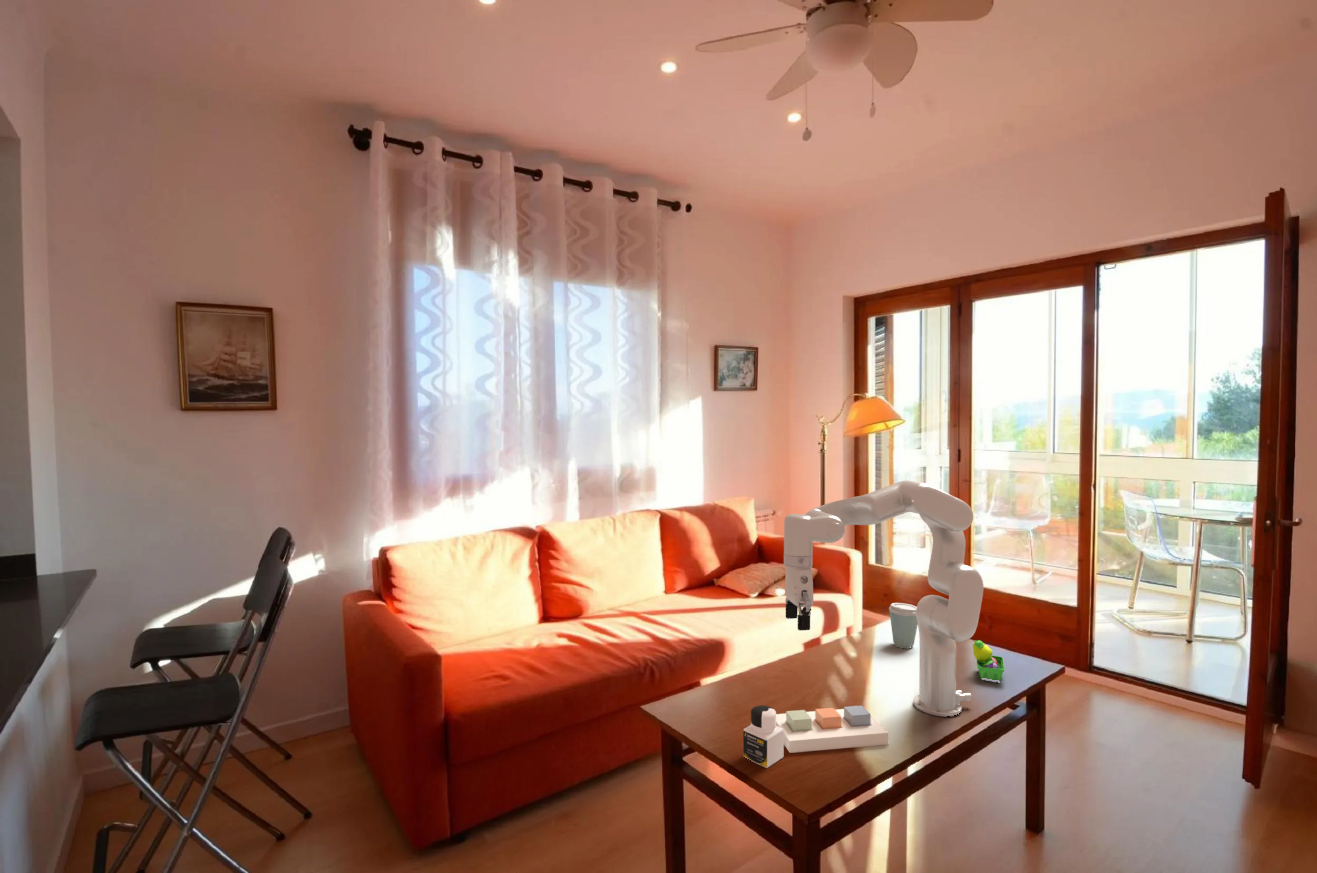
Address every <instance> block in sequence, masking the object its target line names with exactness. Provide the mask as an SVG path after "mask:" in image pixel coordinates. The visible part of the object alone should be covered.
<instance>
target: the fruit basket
mask: <svg viewBox="0 0 1317 873" xmlns="http://www.w3.org/2000/svg"><path fill="white" fill-rule="evenodd" d="M973 642H974V643H973V644H972V650H973V656H974V658H975V659H976V666H977V669H978V672H979V676H980V677H979V678H980V679H981V678H987V679H992V680H999V681H1000V680H1001V681H1002V678H1003V673H1004V671H1005V662H1004V657H1002V656H998V655H993V650H992V649H991V648H990V647H989V646H988V645H987V644H985V643H984V642H983V641H982V640H974V641H973ZM1001 681H1000V682H1001Z"/></svg>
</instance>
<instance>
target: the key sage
mask: <svg viewBox="0 0 1317 873" xmlns="http://www.w3.org/2000/svg"><path fill="white" fill-rule="evenodd" d="M807 712H808V711H806V710H805V709H800V710H788V711H787V710H786V711H785V713H786V724H787V725H788V727H789V728H790V729H791V731H792V732H796V731H809V730H812V719H811V717H810V716H809V715H808V714H807Z"/></svg>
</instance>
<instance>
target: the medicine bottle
mask: <svg viewBox="0 0 1317 873" xmlns="http://www.w3.org/2000/svg"><path fill="white" fill-rule="evenodd" d="M776 714H777V711H776V710H775V709H774V708H773V707H772V706H767V705H756V706H754V707H752V708H751V709H750V725H747V727H744V728H743V731H742V732H743V735H742V736H743V737H742V738H743V740H742V743H743V745H742V746H743V754H742V755H743V758H744V757H745V759H746V758H747V760H748V759H749V760H748V761H750V760H751V762H753V763H755V764H756V765H759V766H761V767H764V768H766V769H768V768H769V767H771V766H773V765H774V764H775V763H777V762H779V761H780V760H781V759H783V758H784V757H785V756H784V753H785V751H784V750H785V749H784V748H785V745H784V730H783V729H782V728H780V727H777V726H776Z"/></svg>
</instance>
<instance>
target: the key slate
mask: <svg viewBox="0 0 1317 873" xmlns="http://www.w3.org/2000/svg"><path fill="white" fill-rule="evenodd" d="M843 709H844V719H845V720H846V721H847V722H848V723H849V725H850V726H851V727H858V726H870V725H871V716H872V715H871V713H870V712H869V711H868V710H867V709H866V708H865V707H864V706H863V705H850V706H843Z"/></svg>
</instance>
